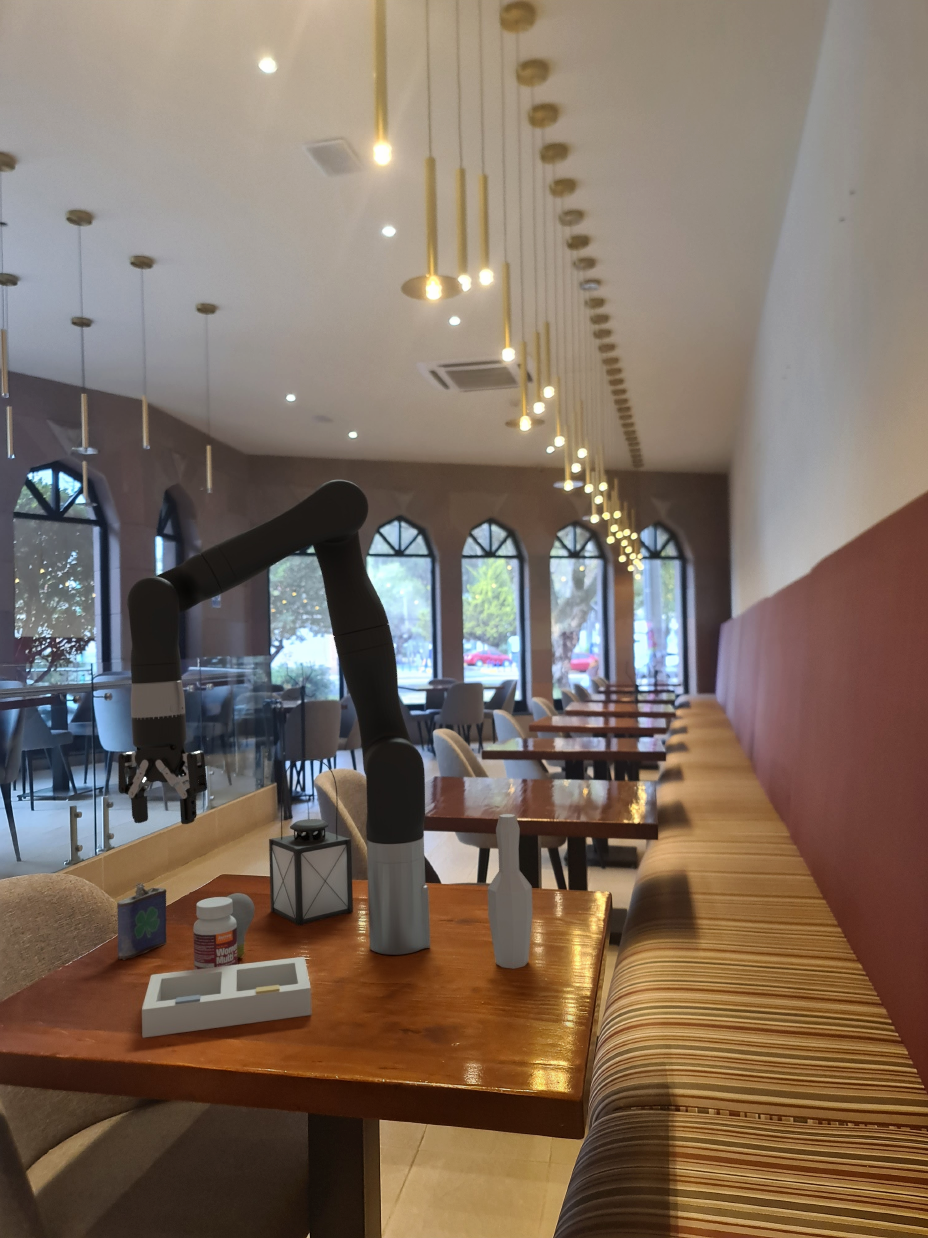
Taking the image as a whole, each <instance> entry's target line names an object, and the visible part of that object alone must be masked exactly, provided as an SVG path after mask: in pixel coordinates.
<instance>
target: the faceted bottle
mask: <svg viewBox="0 0 928 1238" xmlns="http://www.w3.org/2000/svg"><path fill="white" fill-rule="evenodd" d="M520 831H521V829H520V825H519V823H518V820H517V817H516V815H515V814H511V813H503V814H500V815H498V820H497V825H496V827H495V835H496V840H497V841H496V843H497V850H498V851H497V852H498V872H497V873H496V875H495V876H494V878H492V881H491V882H490V883H489V885H488V886H487V909H488V913H487V914H488V915H487V917H488V922H489V928H490V935H491V942H492V947H493V953H494V954H493V956H494V958H495V959H494V961H495V964H496V965H498V966H499V967H501V968H507V969H513V970H514V969H518V968H523V967H525V966H526V965H527V964H528V963H529V957H530V948H531V947H530V946H531V937H532V936H531V935H532V927H533V926H532V925H533V886H532V885H531V883H530V882H529V881H528V879H527V878H526V877H525V876H524V874H523V873H522V872H521V870H520V854H519V848H520V847H519V845H520Z"/></svg>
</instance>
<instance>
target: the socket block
mask: <svg viewBox="0 0 928 1238" xmlns="http://www.w3.org/2000/svg"><path fill="white" fill-rule="evenodd" d="M307 967H308V966H307V963H306V958H305V956H299V957H291V958H281V959H275V960H274V959H273V960H265V961H257V962H256V961H255V962H250V963H249V962H248V963H239V964H238V965H230V966H222V967H213V968H205V969H197V970H194V969H189V970H181V971H172V972H166V973H157V974H156V973H155V974H150V979H149V983H148V986H147V990H146V993H145V996H144V997H145V998H144V1000H143V1003H142V1009H141V1025H142V1026H141V1027H142V1029H141V1032H142V1033H141V1034H142V1038H144V1039H145V1038H151V1037H158V1036H165V1035H172V1034H174V1035H175V1034H179V1033H186V1032H187V1033H188V1032H194V1031H201V1030H210V1029H215V1028H217V1029H219V1028H225V1027H231V1026H238V1025H245V1024H254V1023H260V1022H261V1023H262V1022H267V1021H269V1022H271V1021H277V1020H284V1019H290V1018H291V1019H292V1018H297V1017H305V1016H312V987H311V983H310V978H309V972H308V968H307Z"/></svg>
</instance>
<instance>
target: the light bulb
mask: <svg viewBox="0 0 928 1238" xmlns="http://www.w3.org/2000/svg"><path fill="white" fill-rule="evenodd" d="M226 897H227V898H230V899H232V904H233V912H232V914H230V915H231V916H232V917H234V918H235V920H236V923H237V960H238V959H240V958H241V957H243V956H244V955H245V942H246V938H245V937H246V934H247V931H248V928H249V927H250V925H251V923H252V921H253V919H254V916H255V904H254V902H253V900H252V899H251V898H250V897H249V895H247V894H244V893H240V892H236V893H232V894H230V895H229V894H228V895H227V896H226Z"/></svg>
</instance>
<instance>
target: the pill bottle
mask: <svg viewBox="0 0 928 1238" xmlns="http://www.w3.org/2000/svg"><path fill="white" fill-rule="evenodd" d="M232 912H233V904H232V899H230V898H227V896H215V897H210V898H209V897H208V898H205V899H202V900H199V901H198V902H197V903H196V913H195V914H196V918H198V919H197V920H196V921H195V922H194V924H193V933H192V935H193V964H194V965H193V966H194V967H193V970H197V969H205V968H213V967H222V966H230V965H239V964H238V963H239V962H238V959H237V923H236V920H235V918H234V917H232V916H231V915H230V914H232Z"/></svg>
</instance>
